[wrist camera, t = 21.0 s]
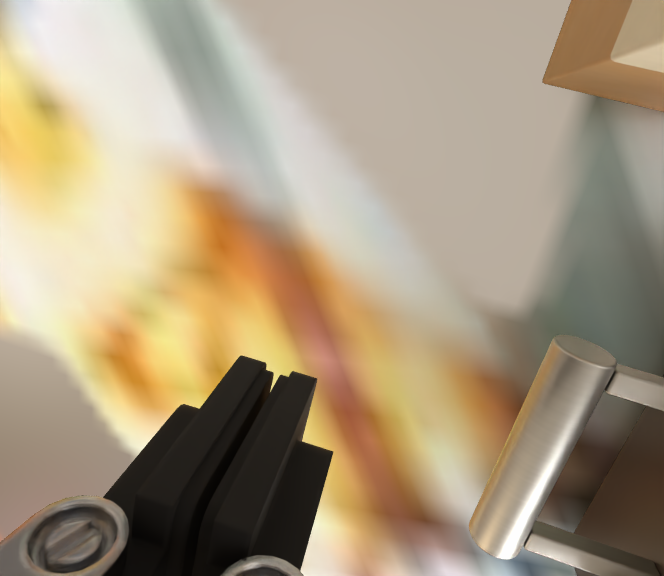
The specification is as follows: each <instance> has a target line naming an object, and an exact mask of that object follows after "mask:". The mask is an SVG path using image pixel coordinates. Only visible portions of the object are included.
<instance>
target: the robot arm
mask: <svg viewBox="0 0 664 576" xmlns="http://www.w3.org/2000/svg"><path fill="white" fill-rule="evenodd" d="M272 381H273V372H270V371H267V370H266V363H265V362H261V361H258V360H255V359H252V358H248V357H245V356H240V357H239V358H238V359H237V360H236V362H235V363H234V364H233V366H232V367H231V368H230V370H229V371H228V372H227V373H226V375H225V376H224V377H223V379H222V380H221V381H220V383H219V384H218V385H217V387H216V388H215V389H214V391H213V392H212V393H211V395H210V396H209V397H208V399H207V400H206V401H205V403H204V404H203V405H202V406H201V408H200V409H198V408H195V407H192V406H189V405H185V404H183V405H180V406H179V407H178V408H177V409H176V410H175V412H174V413H173V414H172V415H171V416H170V418H169V419H168V420H167V421H166V422H165V424H164V425H163V426H162V427H161V428H160V430H159V431H158V432H157V433H156V434H155V436H154V437H153V438H152V439H151V440H150V442H149V443H148V444H147V445H146V446H145V448H144V449H143V450H142V451H141V452H140V454H139V455H138V456H137V457H136V458H135V460H134V461H133V462H132V463H131V464H130V466H129V467H128V468H127V469H126V471H125V472H124V473H123V474H122V475H121V476H120V478H119V479H118V480H117V481H116V482H115V484H114V485H113V486H112V487H111V488H110V490H109V491H108V492H107V493H106V494H105V496H104V497H103V498H102V497H99V496H84V495H82V496H76V497H70V498H65V499H62V500H60V501H57V502H54V503H52V504H49V505H48V506H46V507H45V508H43V509H42V510H40V511H39V512H37V513H35V514H34V515H33V516H32V517H30V518H29V519H28V520H27V521H25V522H24V523H23V524H22V525H21V526H20V527H18V528H17V529H16V530H14V531H13V532H12V533H11V534H10V535H8V536H7V537H6V538H5V539H4V540H2V541H1V542H0V576H303V574H302V573H301V572H300V570H301V566H302V563H303V559H304V555H305V552H306V548H307V545H308V541H309V537H310V534H311V530H312V527H313V523H314V520H315V516H316V512H317V509H318V505H319V502H320V498H321V495H322V491H323V487H324V484H325V480H326V477H327V473H328V469H329V466H330V462H331V459H332V455H333V451H330V450H327V449H323V448H320V447H317V446H314V445H311V444H308V443H305V442H302V438H303V434H304V430H305V426H306V422H307V418H308V414H309V410H310V407H311V403H312V399H313V395H314V391H315V387H316V383H317V378H314V377H310V376H307V375H304V374H301V373H297V372H294V371H292V372H291V374H290V376H289V377H287V376H283V375H280V376H279V378H278V380H277V381H276V383H275V385H274V387H273V389H272V390H271V385H272ZM270 390H271V392H270Z"/></svg>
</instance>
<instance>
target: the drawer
mask: <svg viewBox="0 0 664 576" xmlns="http://www.w3.org/2000/svg"><path fill="white" fill-rule="evenodd" d="M604 390H605V392H606V393H607V394H610V395H613V396H616V397H620V398H623V399H626V400H629V401H633V402H636V403H639V404H642V405H645V406H646V407H645V409H644V411H643V412H642V414H641V416H640V418H639V419H638V421H637V423H636V425H635V426H634V428H633V430H632V432H631V433H630V435H629V437H628V439H627V441H626V442H625V444H624V446H623V448H622V449H621V451H620V453H619V455H618V456H617V458H616V460H615V462H614V463H613V465H612V467H611V469H610V470H609V472H608V474H607V476H606V477H605V479H604V481H603V483H602V484H601V486H600V488H599V490H598V491H597V493H596V495H595V497H594V498H593V500H592V502H591V504H590V505H589V507H588V509H587V511H586V512H585V514H584V516H583V518H582V520H581V521H580V523H579V525H578V527H577V528H576V530H575V532H574V533H571V532H568V531H565V530H562V529H560V528H557V527H554V526H551V525H548V524H545V523H542V522H539V521H536V519H537V517H538V516H539V514H540V512H541V510H542V508H543V506H544V504H545V502H546V500H547V498H548V496H549V495H550V493H551V491H552V489H553V487H554V485H555V483H556V481H557V479H558V477H559V475H560V473H561V472H562V470H563V468H564V466H565V464H566V462H567V460H568V458H569V456H570V454H571V452H572V451H573V449H574V447H575V445H576V443H577V441H578V439H579V437H580V435H581V433H582V431H583V430H584V428H585V426H586V424H587V422H588V420H589V418H590V416H591V414H592V412H593V410H594V408H595V407H596V405H597V403H598V401H599V399H600V397H601V395H602V393H603V391H604ZM469 530H470V534H471V536H472V538H473V540H474V541H475V542H476V544H477V545H478V546H479V547H480V548H481V549H482V550H484V551H485V552H486V553H488V554H490V555H492V556H494V557H496V558H500V559H512V558H514V557H516V556H517V555H518V554H519V552H520V550H521V548H522V546H523V544H524V548H525V549H526V550H528V551H531V552H534V553H537V554H539V555H542V556H545V557H548V558H551V559H553V560H556V561H559V562H562V563H565V564H568V565H570V566H573V567H575V570H576V574H577V576H664V376H663V377H660V376H657V375H654V374H650V373H647V372H644V371H640V370H637V369H634V368H630V367H627V366H624V365H621V364H617V361H616V359H615V358H614V357H613V356H612V355H611V354H610V353H609V352H607V351H606V350H605V349H603V348H601V347H600V346H598V345H596V344H594V343H592V342H590V341H587V340H585V339H582V338H579V337H575V336H570V335H557V336H555V337H554V338H553V340H552V342H551V344H550V346H549V349H548V351H547V353H546V355H545V357H544V360H543V362H542V364H541V366H540V368H539V371H538V373H537V375H536V377H535V379H534V382H533V384H532V386H531V388H530V390H529V392H528V395H527V397H526V399H525V401H524V403H523V406H522V408H521V410H520V412H519V414H518V417H517V419H516V421H515V423H514V425H513V428H512V430H511V432H510V434H509V436H508V439H507V441H506V443H505V445H504V447H503V450H502V452H501V454H500V456H499V458H498V461H497V463H496V465H495V467H494V469H493V472H492V474H491V476H490V478H489V480H488V483H487V485H486V487H485V489H484V491H483V494H482V496H481V498H480V500H479V502H478V505H477V507H476V509H475V511H474V513H473V516H472V518H471V520H470V523H469Z"/></svg>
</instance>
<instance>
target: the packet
mask: <svg viewBox="0 0 664 576" xmlns="http://www.w3.org/2000/svg"><path fill="white" fill-rule="evenodd" d="M543 83H544V84H548V85H552V86H557V87H561V88H565V89H569V90H574V91H578V92H582V93H586V94H590V95H595V96H599V97H603V98H607V99H612V100H616V101H620V102H624V103H629V104H633V105H637V106H641V107H645V108H650V109H654V110H658V111H662V112H664V0H571V3H570V6H569V9H568V11H567V14H566V17H565V20H564V23H563V25H562V28H561V31H560V33H559V36H558V39H557V42H556V44H555V47H554V50H553V53H552V56H551V58H550V61H549V64H548V67H547V69H546V72H545V75H544V78H543Z"/></svg>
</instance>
